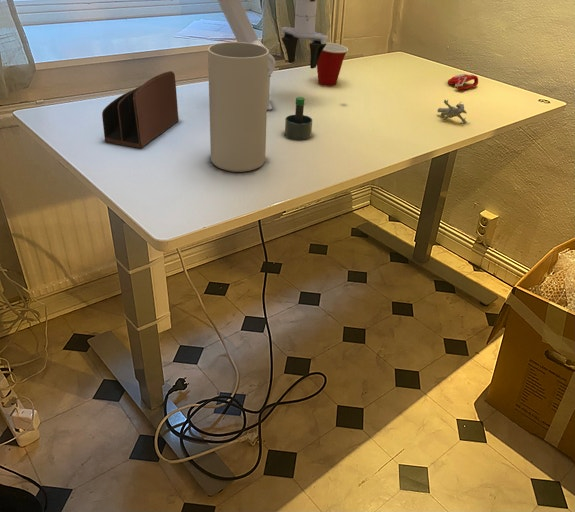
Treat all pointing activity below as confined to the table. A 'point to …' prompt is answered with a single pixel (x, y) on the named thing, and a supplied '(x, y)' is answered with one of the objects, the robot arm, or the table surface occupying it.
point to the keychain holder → (461, 79)
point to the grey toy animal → (453, 111)
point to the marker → (299, 110)
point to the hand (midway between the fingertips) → (302, 64)
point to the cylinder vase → (238, 105)
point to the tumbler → (298, 128)
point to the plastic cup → (330, 63)
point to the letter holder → (142, 112)
